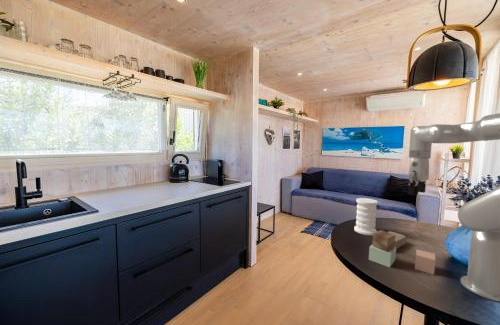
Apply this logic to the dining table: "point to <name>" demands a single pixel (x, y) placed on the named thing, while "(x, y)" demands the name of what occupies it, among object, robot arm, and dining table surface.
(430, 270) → the terracotta cube
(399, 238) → the brick
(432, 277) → the dining table surface
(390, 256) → the base block
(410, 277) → the dining table surface
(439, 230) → the dining table surface
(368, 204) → the decorative container
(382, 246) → the walnut cube
